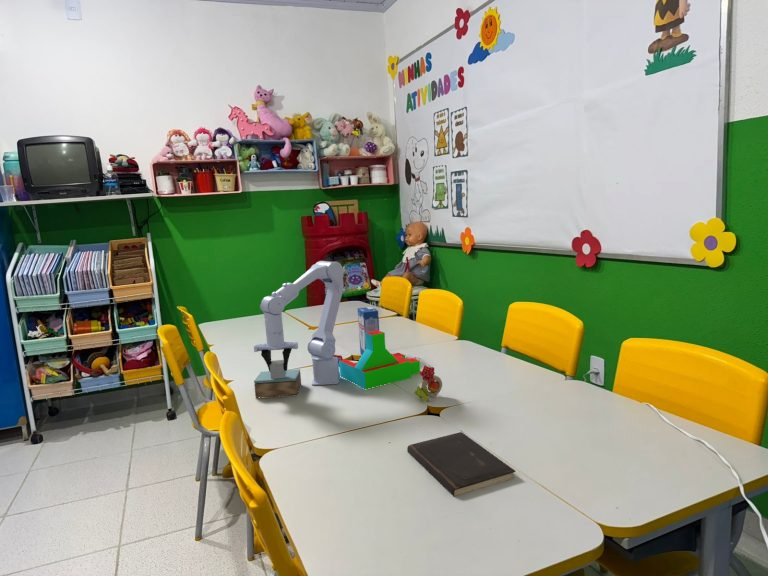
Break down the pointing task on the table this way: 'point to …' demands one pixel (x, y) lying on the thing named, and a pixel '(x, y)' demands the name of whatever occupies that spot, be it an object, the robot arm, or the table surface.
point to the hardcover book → (459, 463)
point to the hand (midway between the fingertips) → (278, 370)
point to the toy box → (278, 388)
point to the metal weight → (277, 369)
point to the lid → (266, 377)
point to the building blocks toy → (378, 364)
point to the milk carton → (367, 324)
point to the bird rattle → (428, 380)
